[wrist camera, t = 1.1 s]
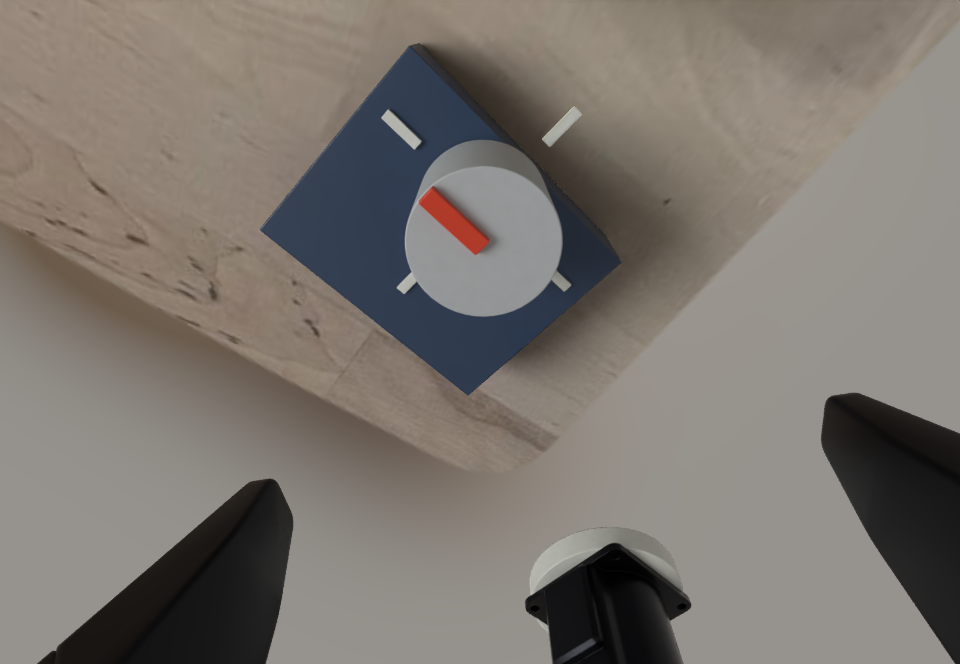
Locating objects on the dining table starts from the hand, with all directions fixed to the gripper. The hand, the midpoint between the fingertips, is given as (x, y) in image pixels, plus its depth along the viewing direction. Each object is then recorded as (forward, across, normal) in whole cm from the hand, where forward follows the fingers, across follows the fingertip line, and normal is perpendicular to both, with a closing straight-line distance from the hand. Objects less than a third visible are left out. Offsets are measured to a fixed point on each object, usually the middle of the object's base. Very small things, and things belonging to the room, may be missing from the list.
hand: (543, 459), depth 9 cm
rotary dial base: (+15, +1, 0) cm, 15 cm away
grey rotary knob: (+12, +1, -1) cm, 12 cm away
